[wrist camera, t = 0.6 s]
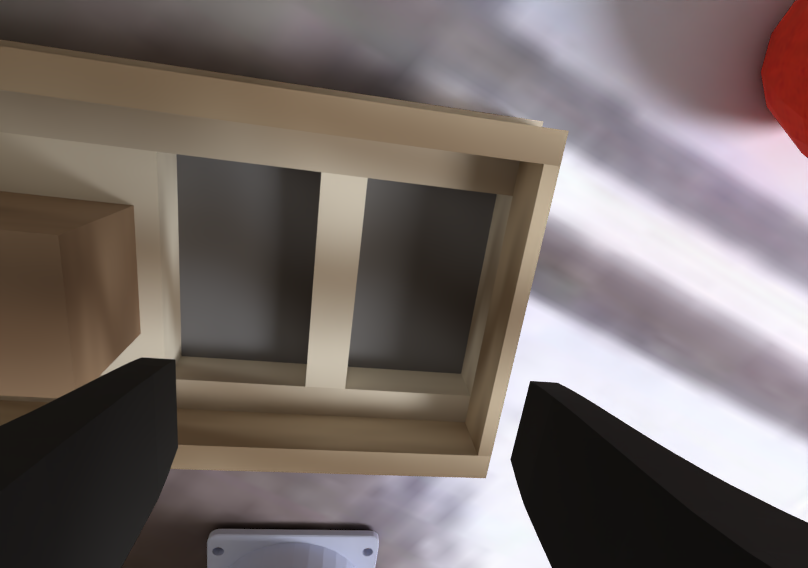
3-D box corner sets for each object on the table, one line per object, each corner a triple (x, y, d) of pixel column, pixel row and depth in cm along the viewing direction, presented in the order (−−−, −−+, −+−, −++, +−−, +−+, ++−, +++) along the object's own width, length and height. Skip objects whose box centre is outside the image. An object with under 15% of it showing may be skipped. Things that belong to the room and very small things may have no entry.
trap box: (460, 418, 21) (484, 483, 17) (-146, 389, 18) (-280, 461, 14) (522, 121, 17) (570, 121, 13) (-257, 4, 13) (-494, -41, 10)
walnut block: (140, 333, 16) (76, 399, 12) (-4, 323, 15) (-119, 389, 12) (133, 205, 15) (58, 235, 11) (-26, 188, 14) (-166, 213, 10)
